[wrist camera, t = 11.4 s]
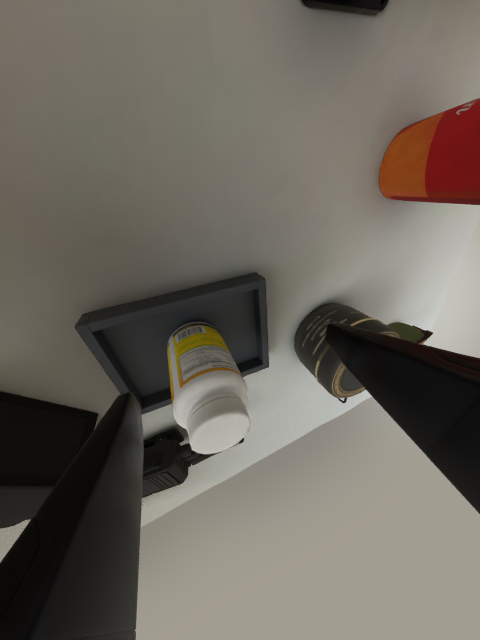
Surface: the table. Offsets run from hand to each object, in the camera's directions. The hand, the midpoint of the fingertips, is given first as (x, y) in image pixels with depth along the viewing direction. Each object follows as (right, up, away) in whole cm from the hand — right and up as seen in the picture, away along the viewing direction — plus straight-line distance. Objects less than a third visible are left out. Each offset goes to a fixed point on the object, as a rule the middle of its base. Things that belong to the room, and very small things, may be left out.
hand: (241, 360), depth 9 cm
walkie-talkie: (-11, -14, +19) cm, 26 cm away
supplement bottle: (-5, 0, +12) cm, 13 cm away
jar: (+11, 0, +19) cm, 22 cm away
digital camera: (-21, -7, +10) cm, 24 cm away
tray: (-5, 0, +12) cm, 13 cm away
